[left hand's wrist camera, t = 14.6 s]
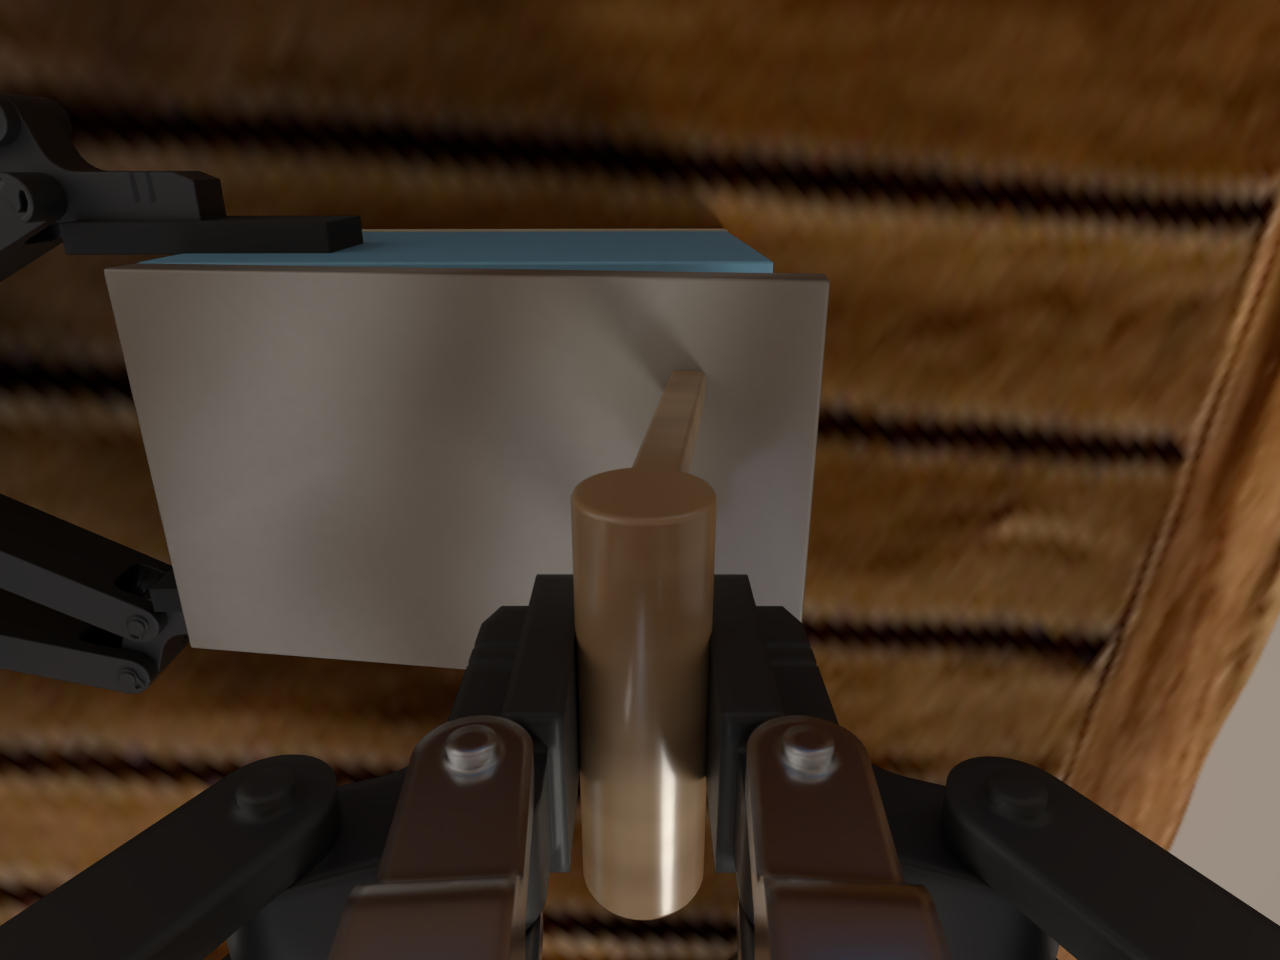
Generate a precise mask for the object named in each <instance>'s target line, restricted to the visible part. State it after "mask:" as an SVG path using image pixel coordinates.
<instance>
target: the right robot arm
mask: <svg viewBox="0 0 1280 960" xmlns="http://www.w3.org/2000/svg"><path fill="white" fill-rule="evenodd" d="M71 129H72V125H71V122H70V118H69V116H68V114H67V113H66V111H65V110H64V108H63V107H62V106H60V105H59V104H58V103H57V102H55V101H53V100H51V99H48V98H44V97H35V96H26V95H17V94H8V93H0V171H1V172H0V180H2V181H1V182H0V282H1V281H3V280H4V279H6V278H7V277H9V276H10V275H12V274H14V273H15V272H17V271H18V270H20V269H21V268H23V267H25V266H26V265H28V264H29V263H31V262H32V261H34V260H36V259H37V258H39V257H40V256H42V255H43V254H45V253H47V252H48V251H50V250H51V249H53V248H54V247H56V246H57V245H59V244H61V243H62V242H63V244H64V248H65V252H66V255H104V254H216V253H333V252H336V251H340V250H343V249H346V248H350V247H353V246H357V245H360V244H363V235H362V227H361V218H360V216H226V212H225V206H224V200H223V195H222V189H221V183H220V179H218V178H215V177H213V176H210V175H208V174H205V173H203V172H200V171H104V170H100V169H98V168H95V167H93V166H92V165H90V164H89V163H87V162H86V161H85V160H84V159H83V158H82V157H81V156H80V154H79V153H78V151H77V150H76V148H75V147H74V145H73V143H72V141H71V140H70V136H71ZM188 641H189V636H188V632H187V628H186V623H185V619H184V615H183V610H182V606H181V602H180V597H179V593H178V589H177V585H176V580H175V576H174V572H173V567H172V566H171V565H169V564H166V563H164V562H161V561H159V560H157V559H154V558H152V557H150V556H147V555H145V554H142V553H140V552H138V551H135V550H133V549H131V548H128V547H126V546H123V545H121V544H119V543H116V542H114V541H112V540H109V539H107V538H104V537H102V536H100V535H97V534H95V533H93V532H90V531H88V530H86V529H83V528H81V527H78V526H76V525H74V524H71V523H69V522H67V521H64V520H62V519H59V518H57V517H55V516H52V515H50V514H48V513H45V512H43V511H40V510H38V509H36V508H33V507H31V506H29V505H26V504H24V503H21V502H19V501H17V500H14V499H12V498H10V497H7V496H5V495H2V494H0V668H1V669H6V670H11V671H17V672H22V673H27V674H32V675H37V676H42V677H48V678H53V679H58V680H63V681H68V682H73V683H78V684H84V685H89V686H94V687H99V688H104V689H109V690H114V691H120V692H125V693H134V694H137V693H140V692H143V691H144V690H145V689H147V688H148V687H149V685H150V684H151V683H152V682H153V681H154V680H155V679H156V678H157V677H158V676H159V675H160V674H161V672H162V671H163V670H164V669H165V668H166V667H167V666H168V665H169V664H170V663H171V662H172V660H173V659H174V658H175V657H176V656H177V655H178V654H179V653H180V652H181V651H182V650H183V648H184V647H185V646H186V645H187V644H188Z"/></svg>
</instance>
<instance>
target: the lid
mask: <svg viewBox="0 0 1280 960" xmlns="http://www.w3.org/2000/svg"><path fill="white" fill-rule="evenodd" d="M104 275H105V279H106V284H107V288H108V292H109V296H110V301H111V305H112V309H113V314H114V318H115V322H116V327H117V331H118V335H119V339H120V344H121V348H122V352H123V357H124V361H125V365H126V370H127V374H128V378H129V382H130V387H131V391H132V395H133V400H134V404H135V408H136V413H137V417H138V421H139V425H140V430H141V434H142V438H143V443H144V447H145V451H146V456H147V460H148V464H149V468H150V473H151V477H152V481H153V486H154V490H155V494H156V499H157V503H158V507H159V511H160V516H161V520H162V524H163V529H164V533H165V537H166V542H167V546H168V550H169V554H170V559H171V563H172V567H173V572H174V576H175V580H176V585H177V589H178V593H179V597H180V602H181V606H182V610H183V615H184V619H185V623H186V628H187V632H188V636H189V640H190V645H191V647H193V648H203V649H216V650H228V651H241V652H253V653H266V654H278V655H291V656H304V657H316V658H329V659H341V660H354V661H366V662H379V663H392V664H404V665H417V666H429V667H442V668H454V669H466V667H467V666H468V661H469V659H470V656H471V653H472V650H473V649H474V644H475V641H476V638H477V635H478V633H479V630H480V627H481V624H482V623H483V622H484V621H485V620H486V619H487V618H489V617H490V616H491V615H492V614H493V613H494V612H495V611H496V610H497V609H499V608H500V607H501V606H529V602H530V598H531V594H532V590H533V586H534V582H535V578H536V575H537V574H573V588H574V617H575V640H576V669H577V699H578V729H579V759H580V792H581V821H582V851H583V874H584V880H585V883H586V886H587V888H588V889H589V891H590V893H591V894H592V896H593V897H594V898H595V900H596V901H597V902H598V903H599V904H600V905H601V906H603V907H604V908H605V909H607V910H608V911H610V912H612V913H614V914H616V915H618V916H621V917H625V918H628V919H634V920H653V919H659V918H663V917H666V916H669V915H671V914H673V913H675V912H677V911H679V910H680V909H682V908H683V907H684V906H686V905H687V904H688V903H689V902H690V901H691V900H692V898H693V897H694V896H695V894H696V893H697V891H698V889H699V887H700V886H701V883H702V880H703V873H704V847H705V820H706V792H707V788H706V778H705V770H706V742H707V715H708V687H709V659H710V636H711V633H712V625H713V597H714V574H747V575H748V578H749V581H750V585H751V589H752V593H753V597H754V600H755V604H756V606H783V607H784V608H785V609H787V610H788V611H789V612H790V613H791V614H792V615H793V616H794V617H796V618H797V619H798V620H799V621H800V622H801V623H802V617H803V604H804V592H805V580H806V567H807V555H808V543H809V531H810V518H811V506H812V494H813V481H814V469H815V457H816V445H817V432H818V420H819V408H820V396H821V383H822V371H823V359H824V346H825V334H826V322H827V310H828V297H829V285H830V283H829V280H828V279H827V277H826V276H825V275H824V274H798V273H733V272H669V271H604V270H539V269H475V268H410V267H346V266H281V265H216V264H152V263H135V264H128V265H122V266H116V267H109V268H106V269H104Z"/></svg>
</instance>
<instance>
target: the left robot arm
mask: <svg viewBox="0 0 1280 960" xmlns="http://www.w3.org/2000/svg"><path fill="white" fill-rule="evenodd" d="M579 772H580V759H579V729H578V699H577V669H576V640H575V617H574V588H573V574H537V575H536V578H535V582H534V586H533V590H532V594H531V598H530V602H529V606H501V607H500V608H499V609H497V610H496V611H495V612H494V613H493V614H492V615H491V616H490V617H489V618H487V619H486V620H485V621H484V622H483V623H482V624H481V627H480V630H479V633H478V635H477V638H476V641H475V644H474V649H473V650H472V653H471V656H470V659H469V661H468V666H467V667H466V670H465V673H464V676H463V679H462V682H461V685H460V687H459V690H458V693H457V696H456V699H455V702H454V705H453V708H452V710H451V713H450V716H449V719H448V722H447V723H445V724H442V725H440V726H438V727H437V728H435V729H433V730H432V731H430V732H429V733H428V734H426V735H425V736H424V737H423V738H422V739H421V740H420V741H419V742H418V744H417V745H416V747H415V748H414V750H413V753H412V755H411V758H410V762H409V765H408V767H405V768H403V769H401V770H399V771H396V772H394V773H391V774H388V775H384V776H381V777H377V778H373V779H368V780H364V781H359V782H355V783H351V784H346V785H342V786H338V787H337V781H336V775H335V773H334V771H333V769H332V768H331V767H330V766H329V765H328V764H327V763H325V762H323V761H322V760H320V759H317V758H315V757H311V756H306V755H280V756H274V757H269V758H266V759H262V760H259V761H256V762H253V763H250V764H248V765H246V766H244V767H241V768H239V769H237V770H236V771H234V772H232V773H230V774H229V775H227V776H226V777H224V778H223V779H221V780H220V781H218V782H217V783H215V784H214V785H212V786H211V787H209V788H207V789H206V790H204V791H203V792H201V793H200V794H198V795H197V796H195V797H194V798H192V799H191V800H189V801H188V802H186V803H185V804H183V805H182V806H180V807H179V808H177V809H176V810H174V811H173V812H171V813H170V814H168V815H167V816H165V817H164V818H162V819H161V820H159V821H158V822H156V823H155V824H153V825H152V826H150V827H149V828H147V829H146V830H144V831H143V832H141V833H140V834H138V835H137V836H135V837H134V838H132V839H131V840H129V841H128V842H126V843H125V844H123V845H122V846H120V847H119V848H117V849H116V850H114V851H113V852H111V853H110V854H108V855H107V856H105V857H104V858H102V859H101V860H99V861H98V862H96V863H95V864H93V865H91V866H90V867H88V868H87V869H85V870H84V871H82V872H81V873H79V874H78V875H76V876H75V877H73V878H72V879H70V880H69V881H67V882H66V883H64V884H63V885H61V886H60V887H58V888H57V889H55V890H54V891H52V892H51V893H49V894H48V895H46V896H45V897H43V898H42V899H40V900H39V901H37V902H36V903H34V904H33V905H31V906H30V907H28V908H27V909H25V910H24V911H22V912H21V913H19V914H18V915H16V916H15V917H13V918H12V919H10V920H9V921H7V922H6V923H4V924H3V925H1V926H0V960H203V959H204V958H205V957H206V956H207V955H209V954H210V953H211V952H212V951H213V950H214V949H216V948H217V947H218V946H219V945H220V944H222V943H223V942H224V941H225V940H226V941H227V945H228V949H229V954H228V955H227V956H225V957H224V958H223V959H222V960H542V944H543V914H542V910H543V907H544V905H545V901H546V897H547V889H548V882H549V874H550V872H570V863H571V853H572V843H573V833H574V823H575V813H576V802H577V792H578V782H579ZM705 778H706V788H707V797H708V806H709V816H710V825H711V835H712V844H713V854H714V863H715V873H736V878H737V886H738V893H739V896H738V914H737V944H738V956H737V957H736V958H735V959H734V960H1058V959H1057V958H1056V956H1057V952H1058V948H1059V944H1060V945H1061V946H1062V947H1063V948H1064V949H1066V950H1067V951H1068V952H1069V953H1070V954H1071V955H1073V956H1074V957H1075V958H1076V959H1077V960H1280V926H1279V925H1277V924H1276V923H1274V922H1273V921H1271V920H1270V919H1268V918H1267V917H1265V916H1264V915H1262V914H1261V913H1259V912H1258V911H1256V910H1255V909H1253V908H1252V907H1250V906H1249V905H1247V904H1246V903H1244V902H1243V901H1241V900H1240V899H1238V898H1237V897H1235V896H1234V895H1232V894H1231V893H1229V892H1228V891H1226V890H1225V889H1223V888H1222V887H1220V886H1219V885H1217V884H1216V883H1214V882H1213V881H1211V880H1210V879H1208V878H1207V877H1205V876H1204V875H1202V874H1201V873H1199V872H1198V871H1196V870H1195V869H1193V868H1192V867H1190V866H1188V865H1187V864H1185V863H1184V862H1183V861H1181V860H1179V859H1178V858H1176V857H1175V856H1173V855H1172V854H1170V853H1169V852H1167V851H1166V850H1164V849H1163V848H1161V847H1160V846H1158V845H1157V844H1155V843H1154V842H1152V841H1151V840H1149V839H1148V838H1146V837H1145V836H1143V835H1142V834H1140V833H1139V832H1137V831H1136V830H1134V829H1133V828H1131V827H1130V826H1128V825H1127V824H1125V823H1124V822H1122V821H1121V820H1119V819H1118V818H1116V817H1115V816H1113V815H1112V814H1110V813H1109V812H1107V811H1106V810H1104V809H1103V808H1101V807H1100V806H1098V805H1097V804H1095V803H1094V802H1092V801H1091V800H1089V799H1088V798H1086V797H1085V796H1083V795H1082V794H1080V793H1079V792H1077V791H1076V790H1074V789H1073V788H1071V787H1070V786H1068V785H1067V784H1065V783H1063V782H1062V781H1060V780H1059V779H1057V778H1056V777H1054V776H1053V775H1051V774H1049V773H1048V772H1046V771H1044V770H1042V769H1039V768H1037V767H1035V766H1033V765H1030V764H1027V763H1024V762H1021V761H1017V760H1014V759H1009V758H1003V757H990V756H988V757H977V758H972V759H968V760H966V761H963V762H961V763H959V764H958V765H956V766H955V767H954V768H953V769H952V770H951V771H950V773H949V775H948V777H947V782H946V786H943V785H938V784H934V783H930V782H925V781H921V780H917V779H912V778H908V777H904V776H901V775H897V774H894V773H892V772H889V771H886V770H884V769H882V768H880V767H878V766H876V765H874V764H872V763H871V762H870V758H869V755H868V753H867V750H866V748H865V747H864V745H863V744H862V742H861V741H860V740H859V739H858V738H857V737H856V736H855V735H854V734H852V733H851V732H850V731H848V730H847V729H845V728H843V727H842V726H840V725H839V724H838V721H837V719H836V716H835V713H834V710H833V707H832V705H831V702H830V699H829V696H828V693H827V691H826V688H825V685H824V682H823V679H822V677H821V674H820V671H819V668H818V666H816V660H815V657H814V654H813V651H812V649H810V643H809V640H808V637H807V634H806V632H805V629H804V626H803V624H802V623H801V622H800V621H799V620H798V619H797V618H796V617H794V616H793V615H792V614H791V613H790V612H789V611H788V610H787V609H785V608H784V607H783V606H756V604H755V600H754V597H753V593H752V589H751V585H750V581H749V578H748V575H747V574H714V597H713V625H712V633H711V636H710V659H709V687H708V715H707V742H706V770H705Z"/></svg>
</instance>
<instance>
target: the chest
mask: <svg viewBox="0 0 1280 960" xmlns="http://www.w3.org/2000/svg"><path fill="white" fill-rule="evenodd" d="M362 235H363V244H360V245H357V246H353V247H350V248H346V249H343V250H340V251H336V252H333V253H216V254H178V255H173V256H168V257H163V258H158V259H153V260H148V261H143V262H139V263H152V264H216V265H281V266H346V267H410V268H475V269H539V270H604V271H669V272H733V273H773V262H772V261H771V260H769V259H768V258H766V257H765V256H763V255H762V254H760V253H759V252H757V251H756V250H754V249H753V248H751V247H750V246H748V245H747V244H745V243H744V242H742V241H741V240H739V239H738V238H736V237H735V236H733V235H732V234H730V233H728V230H726V229H725V228H720V229H362Z"/></svg>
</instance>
